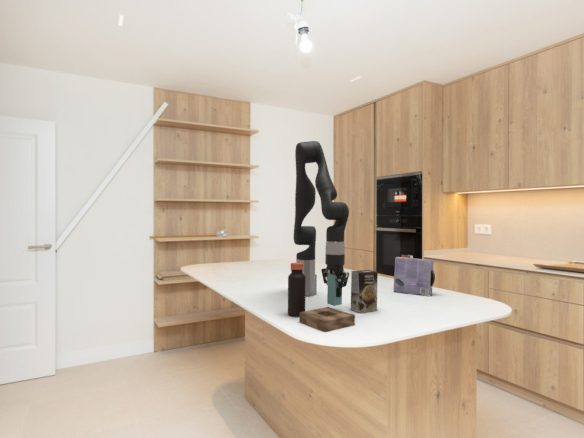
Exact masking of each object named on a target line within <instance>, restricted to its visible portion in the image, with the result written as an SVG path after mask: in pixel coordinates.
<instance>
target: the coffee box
mask: <svg viewBox="0 0 584 438" xmlns="http://www.w3.org/2000/svg"><path fill="white" fill-rule="evenodd" d="M378 276H379V275H378V271H375V270H372V269H371V270H370V269H364V270H363V269H362V270H352V271H351V275H350V277H351V281H350V283H351V284H350V310H351V311H354V312H355V313H356V312H357V313H358V312H359V314H361V313H362V312H363V313H369V311H370V312H374V311H375V312H376V310H377V311H378ZM363 313H362V314H363Z"/></svg>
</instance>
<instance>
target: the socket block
mask: <svg viewBox="0 0 584 438" xmlns="http://www.w3.org/2000/svg"><path fill="white" fill-rule="evenodd" d="M355 316H356V315H355V314H353V313H349V312H346V311H344V310H339V309H336V308H333V307H330V306H326V307H320V308H315V309H310V310H305V311H304V312H299V317H298V318H299V323H301V324H304V325H305V326H306V325H307V326H309V327H312V328H314V329H317V330H320V331H322V332H324V333H326V332H330V331H334V330H339V329H342V328H347V327H351V326H354V325H355V323H356V322H355V320H356V319H355V318H356V317H355Z"/></svg>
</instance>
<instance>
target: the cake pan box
mask: <svg viewBox="0 0 584 438" xmlns="http://www.w3.org/2000/svg"><path fill="white" fill-rule="evenodd" d="M394 257H395V256H394ZM394 259H395V260H394V274H393V292H396V293H401V292H403V293H404V294H408V293H412V294H411V295H417V294H422V295H421V296H424V295H431V294H432V295H433V286H434V284H435V280H436V274H435V272H434V259H426V258H425V259H424V258H423V259H422V258H416V257H415V258H412V257H402V256H401V257H400V256H396V257H395V258H394ZM432 295H431V296H432Z"/></svg>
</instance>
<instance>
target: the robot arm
mask: <svg viewBox="0 0 584 438" xmlns="http://www.w3.org/2000/svg"><path fill="white" fill-rule="evenodd" d="M294 153H295V154H294V155H295V156H294V157H295V158H294V159H295V176H296V177H295V178H296V179H295V194H294V195H295V196H294V200H295V201H294V204H295V205H294V207H295V208H294V209H295V211H294V212H295V213H294V214H295V215H294V225H293V227H294V228H293V242H294V245H297V246H308V247H307V248H305V250H302V251H299V252H297V253H296V260H295V261H296V262H295V263H303V271H302V273H303V274H304V275H305V277H306V279H305V297H311V296H315V295H317V293H318V290H317V289H318V287H317V285H318V284H317V282H318V281H317V278H318V276H317V274H316V244H317V243H316V241H317V229H316V227H315V226H314V225H313V226H311V225H308V226H307V225H303V222H304V221H305V218H306V217H307V216H308V214H309V213H310V212H311V211H312V209H313V208H314V206H315V204H316V191H317V193H318V195H319V198H320V205H321V214H322V216H323V217H324V219H326V220H327V221H335V222H334V224H333V225H330V226H328V227H326V233H325V235H326V241H325V259H324V260H325V262H324V263H325V265H326V267H325V268H320V269H321V276H322V280H323V283H324V284H326V286H327V287H328V274H333V275H335V282H336V287H337V288H336V297H338V298H339V297H341V296H342V297H343V288H344V287H346V286H347V284H348V281H349V277H350V273H349V272H347V271H345V269H344V266H345V263H346V262H345V259H346V255H345V254H346V253H345V251H346V250H345V249H346V247H345V231H346V226H347V222H348V220H349V216H350V208H349V206H348V205H347V203H346V202H343V201H336V202H335V200H336V199H337V198H338V191H337V189H336V188H335V185H334V183H333V181H332V178H331V174H330V173H329V168H328V164H327V160H326V155H325V153H324V150H323V147H322V144H321V143H320V142H319V141H318V140H311V141H300V142H298V143H297V144H296V145H295V152H294ZM314 163H316V165H317V173H316V176H315V180H314V183H315V185H314V184H313V182H312V180H311V179H310V178H309V177H308V174H307V171H306V164H314ZM340 277H341V279H340V280H338V278H340ZM339 282H340V284H339Z"/></svg>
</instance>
